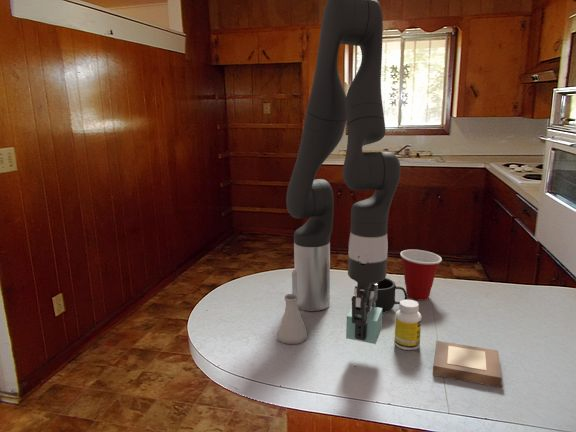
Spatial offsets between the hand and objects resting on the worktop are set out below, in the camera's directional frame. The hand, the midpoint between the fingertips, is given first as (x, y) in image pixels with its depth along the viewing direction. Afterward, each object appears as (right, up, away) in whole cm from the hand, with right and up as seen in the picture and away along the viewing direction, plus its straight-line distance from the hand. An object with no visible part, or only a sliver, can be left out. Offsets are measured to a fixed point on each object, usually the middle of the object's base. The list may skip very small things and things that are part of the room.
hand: (364, 330), depth 92 cm
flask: (-15, -4, +10) cm, 18 cm away
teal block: (0, -1, 0) cm, 1 cm away
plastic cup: (+20, +1, +30) cm, 36 cm away
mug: (+9, -1, +23) cm, 25 cm away
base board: (+20, -6, -3) cm, 21 cm away
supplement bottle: (+10, -5, +6) cm, 13 cm away
